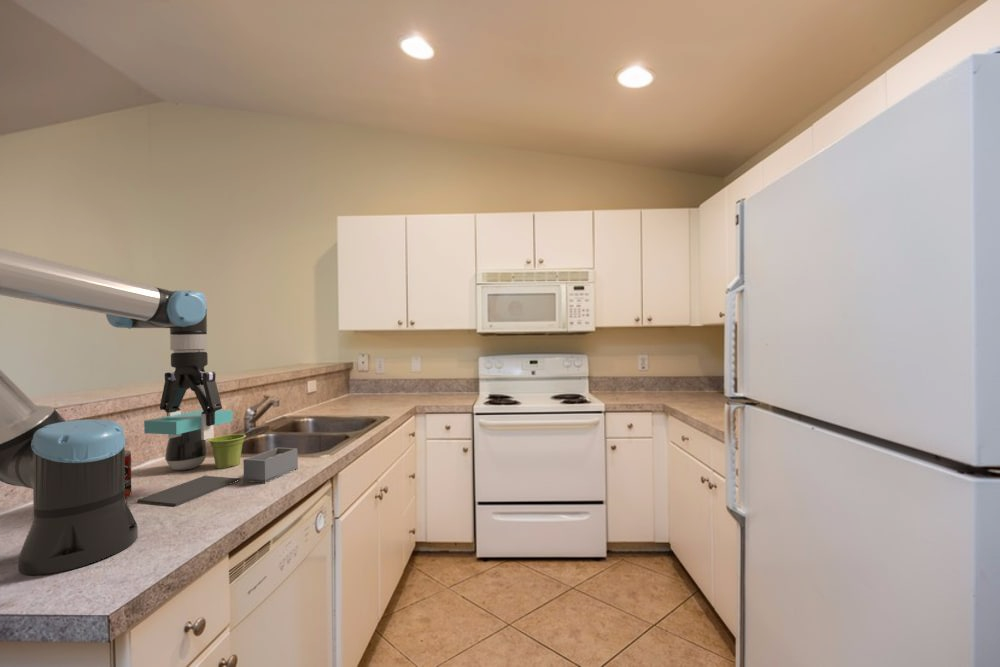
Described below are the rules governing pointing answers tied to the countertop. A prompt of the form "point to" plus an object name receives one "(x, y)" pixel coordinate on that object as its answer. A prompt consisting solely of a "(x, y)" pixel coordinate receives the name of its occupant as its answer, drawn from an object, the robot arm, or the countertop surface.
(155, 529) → the countertop surface
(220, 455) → the plant pot
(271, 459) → the storage box
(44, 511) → the robot arm
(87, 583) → the countertop surface
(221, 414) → the lid
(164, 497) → the mat
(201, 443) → the black egg-shaped piece
